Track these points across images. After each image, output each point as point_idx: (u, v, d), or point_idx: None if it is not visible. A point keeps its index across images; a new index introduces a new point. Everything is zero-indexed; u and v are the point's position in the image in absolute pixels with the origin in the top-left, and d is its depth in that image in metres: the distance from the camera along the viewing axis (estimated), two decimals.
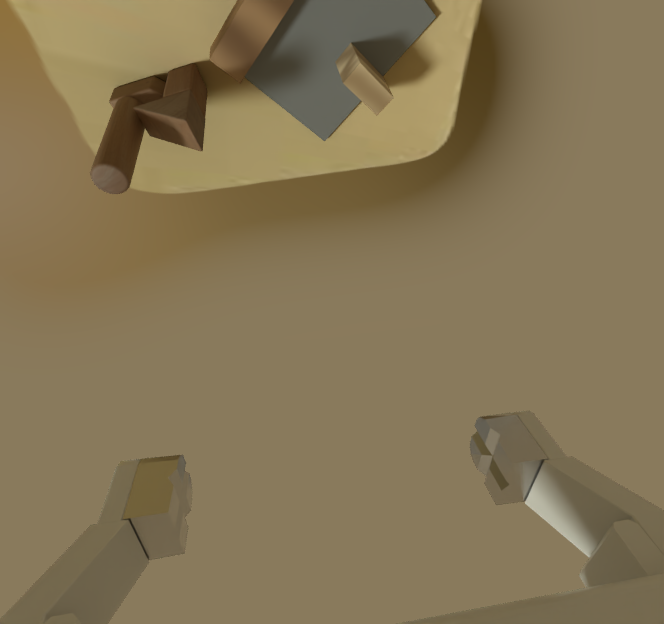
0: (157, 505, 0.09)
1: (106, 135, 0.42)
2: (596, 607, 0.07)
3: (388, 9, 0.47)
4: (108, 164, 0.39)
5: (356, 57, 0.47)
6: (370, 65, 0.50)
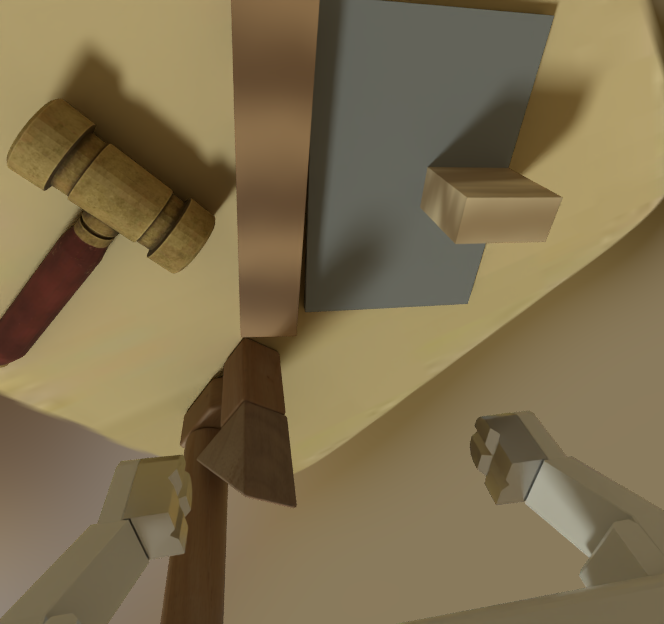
0: (157, 505, 0.09)
1: None
2: (596, 607, 0.07)
3: (459, 77, 0.24)
4: None
5: (453, 189, 0.24)
6: (480, 173, 0.27)
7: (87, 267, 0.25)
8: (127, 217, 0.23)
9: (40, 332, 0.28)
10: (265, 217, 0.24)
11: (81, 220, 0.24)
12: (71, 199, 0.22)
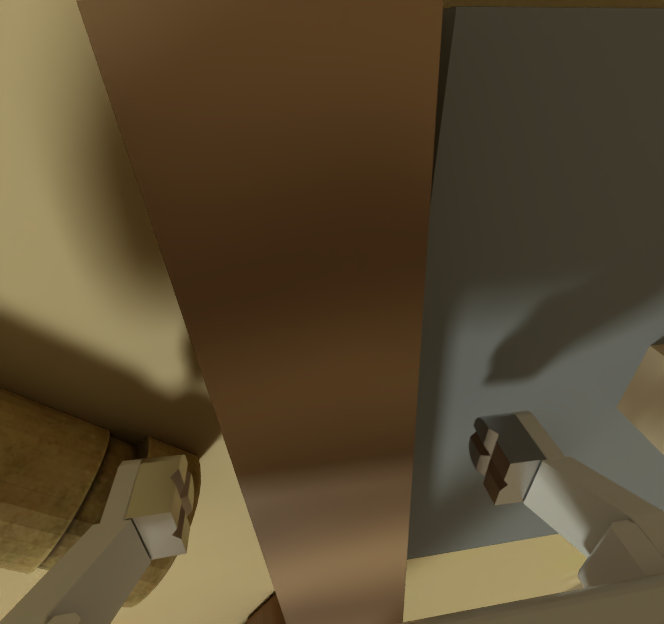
0: (159, 505, 0.09)
1: None
2: (596, 607, 0.07)
3: None
4: None
5: None
6: None
7: None
8: None
9: None
10: (321, 526, 0.10)
11: None
12: None
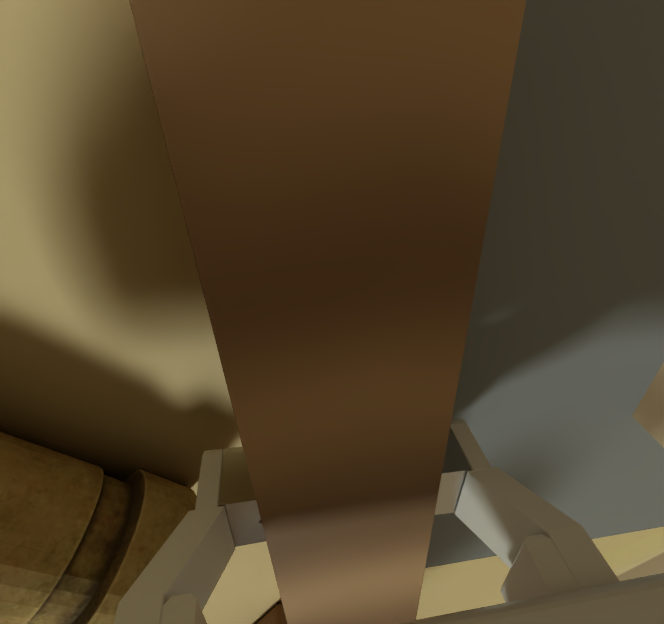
0: (249, 492, 0.09)
1: None
2: (596, 607, 0.07)
3: None
4: None
5: None
6: None
7: None
8: None
9: None
10: (339, 547, 0.10)
11: None
12: None
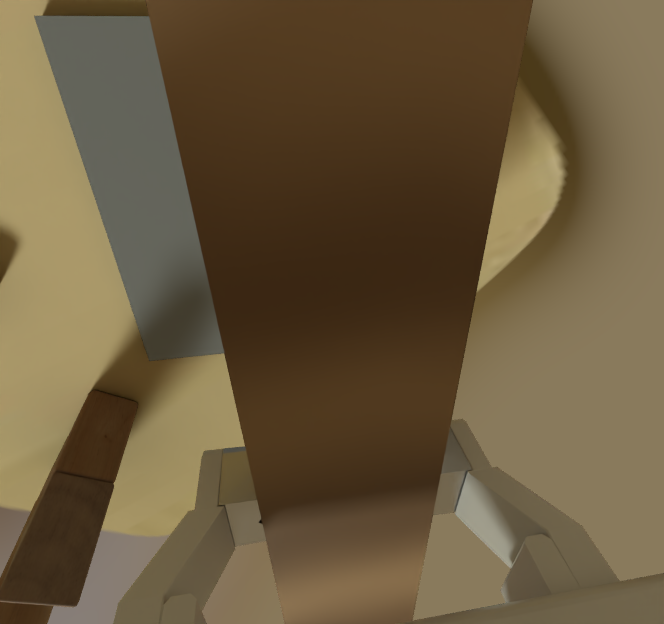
0: (249, 492, 0.09)
1: None
2: (596, 607, 0.07)
3: None
4: None
5: None
6: None
7: None
8: None
9: None
10: (338, 548, 0.10)
11: None
12: None
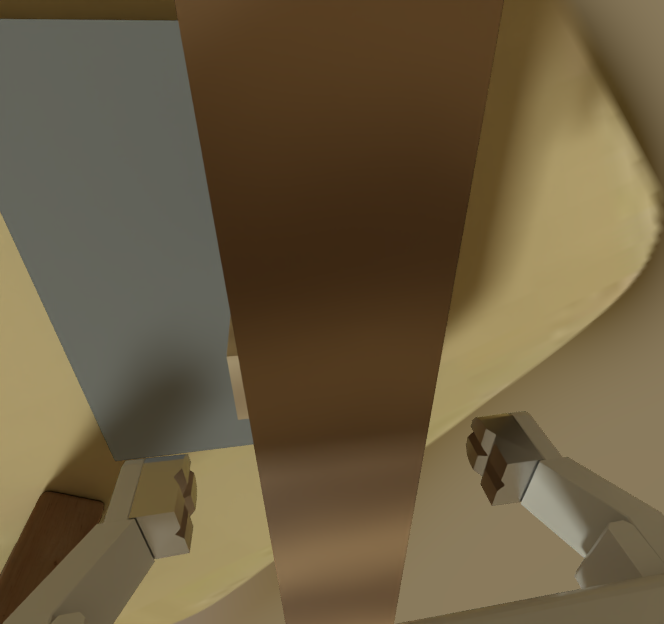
0: (163, 504, 0.09)
1: None
2: (595, 606, 0.07)
3: None
4: None
5: None
6: None
7: None
8: None
9: None
10: (330, 511, 0.11)
11: None
12: None
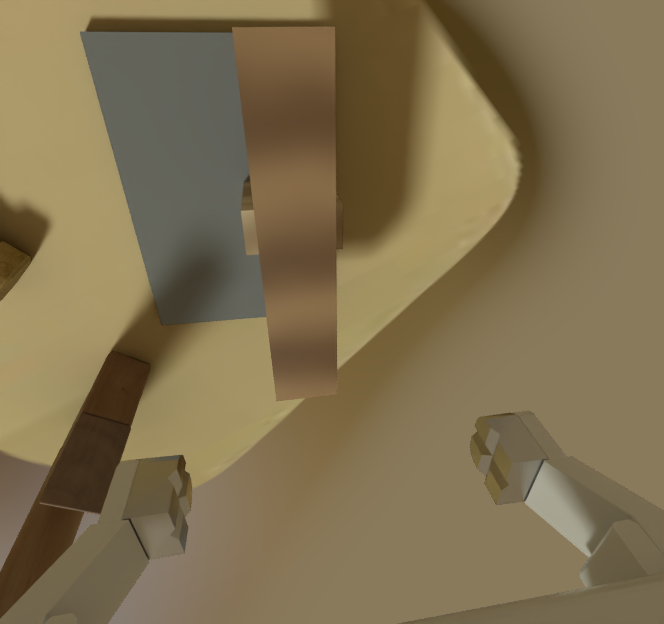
0: (157, 505, 0.09)
1: (12, 549, 0.28)
2: (596, 607, 0.07)
3: None
4: None
5: None
6: None
7: None
8: None
9: None
10: (293, 275, 0.22)
11: None
12: None
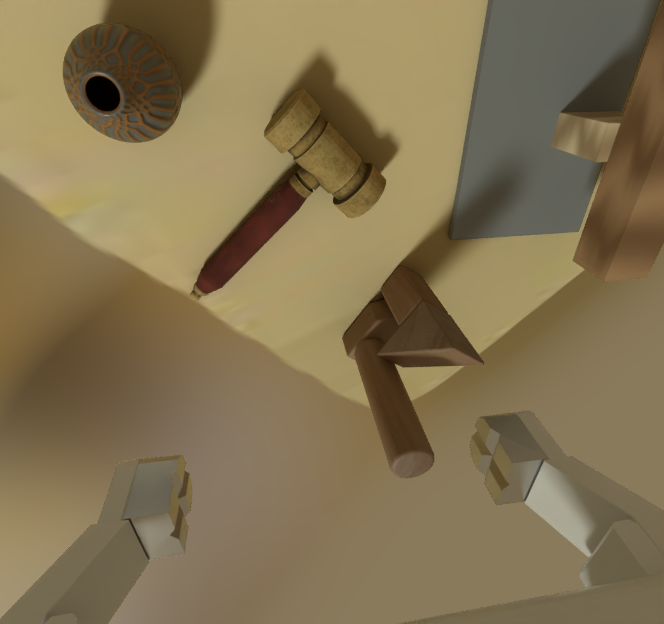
0: (157, 505, 0.09)
1: (375, 407, 0.35)
2: (596, 607, 0.07)
3: (591, 39, 0.33)
4: (405, 452, 0.30)
5: (592, 121, 0.32)
6: (603, 113, 0.35)
7: (292, 212, 0.35)
8: (337, 172, 0.32)
9: (242, 266, 0.38)
10: None
11: (296, 176, 0.34)
12: (301, 159, 0.32)
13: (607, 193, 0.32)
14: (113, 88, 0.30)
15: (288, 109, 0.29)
